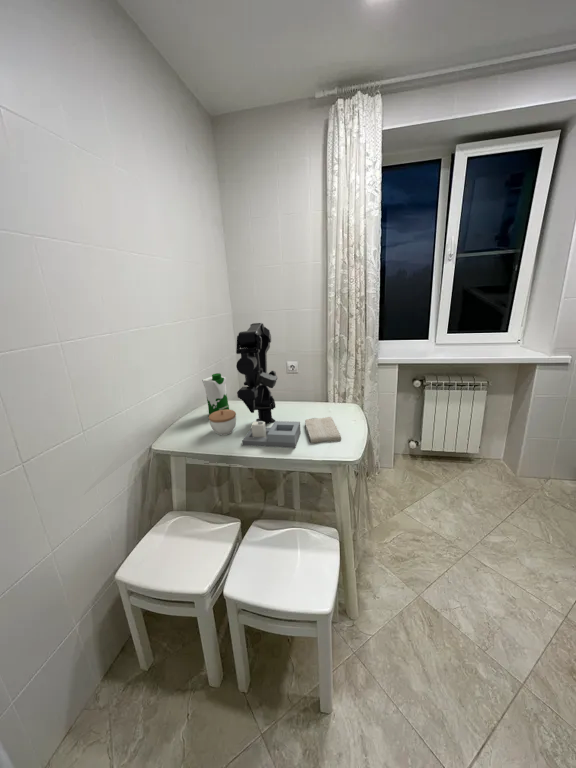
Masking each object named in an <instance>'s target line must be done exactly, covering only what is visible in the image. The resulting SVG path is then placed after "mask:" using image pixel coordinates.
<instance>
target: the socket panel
mask: <svg viewBox="0 0 576 768" xmlns="http://www.w3.org/2000/svg"><path fill="white" fill-rule="evenodd" d="M301 434H302V433H301V422H300V421H289V420H288V421H287V420H284V421H283V420H275V422H273V423H272V425H271V427H266V435H267V436H266V438H264V437H253V434H252V426H251V427H250V429H249V430H248V432H247V433H246V435H245V436H244V437H243V438H242V440H241V444H242V446H244V447H245V446H246V447H264V448H265V447H269V448H289V449H290V448H291V449H296V447H297V444H298V442H299V439H300V436H301Z"/></svg>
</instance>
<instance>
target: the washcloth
mask: <svg viewBox="0 0 576 768" xmlns="http://www.w3.org/2000/svg"><path fill="white" fill-rule="evenodd" d="M304 424H305V429H306V433H307V436H308V439H309V443H310V444H311V443H312V444H315V443H321V442H322V443H323V442H335V441H341V440H342V435H341V433H340V431H339V429H338V427H337V425H336V423H335V421H334V419H333V417H331V416H327V417H326V416H325V417H320V418H316V417H314V418H313V417H312V418H306V419H304Z"/></svg>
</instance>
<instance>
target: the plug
mask: <svg viewBox="0 0 576 768" xmlns="http://www.w3.org/2000/svg"><path fill="white" fill-rule="evenodd" d="M251 427H252V434H253V437H264V438H266V436H267V435H266V428H267V427H266V424H265V422H263V421H258V422H257V421H253V422H252V424H251Z"/></svg>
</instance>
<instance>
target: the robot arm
mask: <svg viewBox="0 0 576 768" xmlns="http://www.w3.org/2000/svg"><path fill="white" fill-rule="evenodd" d="M270 331H271V330H270V329H268V328H267V327H266V326H265V325H264V323H262V322H255V323H252V324H250V326H249V328H248V329H247V330H246V331H245V330H244V331H243V330H242V331H239V332H238V335H237V336H236V348H235V349H236V351H235V352H236V353H235V354H237V355H240V358H239V359H238V360H237V362H236V370H237V372H238V373H240V374H241V375H243V376H244V379H245V381H244V382H243V386H242V387H241V388H239V390H238V391H237V392H236V394H237V398H238V399H240V400H241V401H242V402H243V403H244V404H245V406H246V407H247V410H249V412H250V413H252V414H253V413H255V411H257V414H258V415H257V416H258V418H256V419H255V422H258V421H263V422H265V425H269V424H271V423H272V424H273V423H274V422H275V421H276V420H275V419H274V418H273V416H272V410H274V409H276V407H277V406H276V402H275V398H274V396H273V395H272V392H271V390H270V389H273V388H274V387H275V386H276V383H277V380H278V376H277V373H276V371H274V370H270V372H268V361H267V359H268V355H267V353H268V351H269V350H270V348H271V343H272V335H271V332H270Z"/></svg>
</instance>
